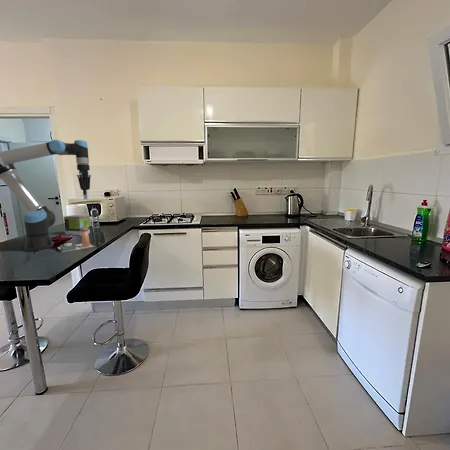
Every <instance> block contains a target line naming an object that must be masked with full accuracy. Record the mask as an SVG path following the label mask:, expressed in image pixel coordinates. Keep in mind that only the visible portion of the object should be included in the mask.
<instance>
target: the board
mask: <svg viewBox="0 0 450 450" xmlns="http://www.w3.org/2000/svg"><path fill="white" fill-rule="evenodd" d="M89 244H90V246H88V247H83V245H82V243H79V244H75V245H76V251H77V250H83V249H84V250H85V249H90V248H94V247H96V246H95V245H93V244H91V243H90V242H89ZM57 249H58V250H59V251H61V253H64V252H66V251H64V252H63V251H62V250H61V249H60V246H59V247H58V246H57ZM71 251H72V250H70V252H71Z"/></svg>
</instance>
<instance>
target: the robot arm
mask: <svg viewBox="0 0 450 450" xmlns="http://www.w3.org/2000/svg"><path fill="white" fill-rule="evenodd" d="M73 142H74V143H71V142H70V143H69V142H64V141H62V140H58V139H53V140H50V141H48V142H43V143H38V144H33V145H28V146H23V147H19V148H13V149H7V150H3V151H0V180H2V181H3V183H4V184H5V185H6V186H7V187H8V189H9V190H10V191H11V192H12V194H13V195H14V196H15V197H16V198H17V200H18V201H19V202H20V203H21V204H22V205H23V207H24V208H25V209H26V212H25V213H24V214H23V223H24V229H25V234H26V235H25V237H26V238H25V243H24V251H25V252H38V251H39V250H43V249H44V250H45V249H49V248H52V247H53V246H54V242H53V240H52V238H51V236H50V235H49V228H51V227H53V225H55V224H56V222H57V215H56V213H55V212H54V211H52V210H50V209H49V208H48V207H47V206H46V205H45V204H42V203H41V202H40V201H39V199H37V197H36V196H35V194H34V193H33V191H31V190H30V189H29V187H28V186H27V184H25V182H24V181H23V180H22V179H21V177H20V176H19V175H18V173H17V172H18V171H17V168H16V166H15V164H16V163H17V164H18V163H21V162H26V161H29V160H34V159H35V160H36V159H39V158H45V157H48V156H53V155H54V156H55V155H57V156H59V155H60V156H75V159H76V161H75V162H76V169H77V171H78V174H76V177H77V178H78V182H79V188H80V190H81V191H82V193H83V194H82V195H83V200H90V198H89V197H90V196H89V191H90V189H91V177H92V176H91V174H89V171H90V158H89V147H88V142H87V141H86V140H83V139H75V140H74V141H73Z"/></svg>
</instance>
